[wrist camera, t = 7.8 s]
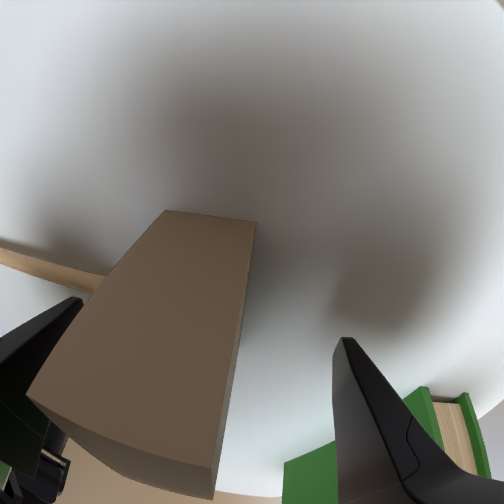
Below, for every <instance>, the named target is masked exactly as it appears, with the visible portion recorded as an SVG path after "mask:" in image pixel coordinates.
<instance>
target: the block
mask: <svg viewBox="0 0 504 504" xmlns="http://www.w3.org/2000/svg"><path fill="white" fill-rule="evenodd" d="M255 229H256V222H250V221H243V220H236V219H229V218H222V217H215V216H207V215H200V214H192V213H184V212H176V211H168V210H165V211H164V212H163V213H162V214H161V215H160V216H159V217H158V218H157V219H156V220H155V221H154V222H153V223H152V225H151V226H150V227H149V228H148V229H147V230H146V231H145V232H144V233H143V234H142V235H141V237H140V238H139V239H138V240H137V241H136V242H135V243H134V244H133V246H132V247H131V248H130V249H129V250H128V251H127V253H126V254H125V255H124V256H123V257H122V258H121V260H120V261H119V262H118V263H117V264H116V265H115V267H114V268H113V269H112V270H111V272H110V273H109V274H108V275H107V276H102V275H98V274H94V273H89V272H85V271H81V270H77V269H73V268H70V267H66V266H62V265H58V264H54V263H51V262H47V261H43V260H40V259H36V258H33V257H29V256H26V255H23V254H19V253H16V252H13V251H9V250H6V249H3V248H0V264H3V265H5V266H8V267H11V268H13V269H16V270H19V271H22V272H24V273H27V274H30V275H33V276H36V277H39V278H42V279H45V280H48V281H51V282H54V283H57V284H60V285H64V286H67V287H70V288H73V289H77V290H80V291H84V292H87V293H91V294H92V295H91V297H90V298H89V299H88V301H87V302H86V303H85V305H84V306H83V307H82V309H81V310H80V311H79V313H78V314H77V315H76V317H75V318H74V320H73V321H72V322H71V324H70V325H69V327H68V328H67V329H66V331H65V332H64V334H63V335H62V337H61V338H60V340H59V341H58V343H57V344H56V346H55V347H54V349H53V350H52V352H51V353H50V355H49V356H48V358H47V359H46V361H45V363H44V364H43V366H42V367H41V369H40V371H39V372H38V374H37V376H36V377H35V379H34V381H33V382H32V384H31V386H30V388H29V389H28V391H27V393H26V395H27V396H28V398H29V399H30V400H31V401H32V402H33V403H34V404H35V405H36V406H37V407H38V408H39V409H40V410H41V411H42V412H43V413H44V414H45V415H46V416H47V417H48V418H49V419H50V420H51V421H52V422H53V423H54V424H55V425H56V426H57V427H59V428H60V429H61V430H62V431H63V432H64V433H65V434H66V435H68V436H69V437H70V438H71V439H73V440H74V441H75V442H76V443H77V444H79V445H80V446H81V447H82V448H83V449H85V450H86V451H87V452H89V453H90V454H91V455H93V456H94V457H95V458H97V459H98V460H100V461H101V462H102V463H104V464H105V465H107V466H108V467H110V468H111V469H113V470H114V471H116V472H117V473H119V474H120V475H122V476H124V477H127V478H129V479H132V480H135V481H137V482H140V483H143V484H147V485H150V486H153V487H156V488H160V489H163V490H167V491H170V492H174V493H178V494H183V495H187V496H192V497H196V498H202V499H207V500H213V496H214V491H215V485H216V479H217V473H218V467H219V461H220V456H221V450H222V444H223V438H224V432H225V426H226V420H227V414H228V408H229V402H230V396H231V390H232V384H233V378H234V372H235V367H236V361H237V355H238V349H239V342H240V335H241V328H242V321H243V314H244V307H245V300H246V293H247V286H248V278H249V271H250V264H251V257H252V250H253V243H254V236H255Z"/></svg>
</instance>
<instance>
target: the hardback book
mask: <svg viewBox="0 0 504 504" xmlns="http://www.w3.org/2000/svg"><path fill="white" fill-rule="evenodd" d="M403 402H404V403H405V404H406V406H407V407H408V408H409V410H410V411H411V412H412V415H414V416H415V417H416V419H417V420H418V421H419V423H420V424H421V425H422V426H423V428H424V429H425V430H426V432H427V433H428V434H429V435H430V436H431V437H432V439H433V440H434V441H435V442H436V443H437V444H438V445H439V446H440V447H441V448H442V449H443V451H444V452H445V453H446V454H447V455H448V456H449V457H450V458H451V459H452V460H453V461H454V462H455V463H456V464H457V465H458V466H459V467H460V468H461V469H463V470H464V471H466V472H468V473H471V474H474V475H478V476H482V477H486V478H490V479H492V478H491V472H490V468H489V463H488V458H487V453H486V449H485V445H484V441H483V438H482V434H481V431H480V427H479V424H478V421H477V417H476V414H475V411H474V408H473V405H472V402H471V400H470V397H469V394H468V393H462V394H461V395H460V396H459V397H457V398H456V399H455V400H453V401H452V402H451V403H439V402H432V399H431V395H430V392H429V389H428V388H427V387H421V386H420V387H419V388H418V389H416V390H415V391H414V392H412V393H411V394H410V395H408V396H407V397H405V398H404V399H403ZM282 504H338V481H337V458H336V442H335V441H333V442H331V443H329V444H327V445H325V446H323V447H320V448H318V449H316V450H314V451H312V452H309V453H307V454H305V455H303V456H300V457H298V458H295V459H293V460H290V461H288V462H285V463H284V477H283V493H282Z"/></svg>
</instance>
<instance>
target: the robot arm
mask: <svg viewBox="0 0 504 504" xmlns="http://www.w3.org/2000/svg"><path fill="white" fill-rule="evenodd" d="M83 306H84V303H83V301H82V299H81V298H78V297H74V296H72V297H70V298H68V299H66V300H64V301H62V302H61V303H59V304H57V305H55V306H53V307H52V308H50V309H48V310H46V311H45V312H43V313H41V314H39V315H38V316H36V317H34V318H32V319H31V320H29V321H27V322H26V323H24V324H22V325H20V326H19V327H17V328H15V329H14V330H12V331H10V332H9V333H7V334H5V335H4V336H3V337H0V504H52V503H54V502H55V500H56V497H57V495H58V496H60V495H61V493H62V491H63V489H64V485H65V481H66V477H67V473H68V470H69V466H70V462H71V461H70V460H68V459H66V458H63V457H62V456H61V455H62V452H63V450H64V447H65V444H66V442H67V439H68V437H69V436H68V435H66V434H65V433H64V432H63V431H62V430H61V429H60V428H59V427H57V426H56V425H55V424H54V423H53V422H52V421H51V420H50V419H49V418H48V417H47V416H46V415H45V414H44V413H43V412H42V411H41V410H40V409H39V408H38V407H37V406H36V405H35V404H34V403H33V402H32V401H31V400H30V399H29V398H28V396H27V395H26V393H27V391H28V389H29V388H30V386H31V384H32V382H33V381H34V379H35V377H36V376H37V374H38V372H39V371H40V369H41V367H42V366H43V364H44V363H45V361H46V359H47V358H48V356H49V355H50V353H51V352H52V350H53V349H54V347H55V346H56V344H57V343H58V341H59V340H60V338H61V337H62V335H63V334H64V332H65V331H66V329H67V328H68V327H69V325H70V324H71V322H72V321H73V320H74V318H75V317H76V315H77V314H78V313H79V311H80V310H81V309H82V307H83ZM332 405H333V416H334V428H335V442H336V458H337V481H338V504H504V482H503V481H498V480H494V479H490V478H486V477H482V476H478V475H474V474H471V473H468V472H466V471H464V470H463V469H461V468H460V467H459V466H458V465H457V464H456V463H455V462H454V461H453V460H452V459H451V458H450V457H449V456H448V455H447V454H446V453H445V452H444V451H443V449H442V448H441V447H440V446H439V445H438V444H437V443H436V442H435V441H434V440H433V439H432V437H431V436H430V435H429V434H428V433H427V432H426V430H425V429H424V428H423V426H422V425H421V424H420V423H419V421H418V420H417V419H416V417H415V416H414V415H412V412H411V411H410V410H409V408H408V407H407V406H406V404H405V403H404V402H403V400H402V399H401V398H400V396H399V395H398V394H397V393H396V391H395V390H394V389H393V387H392V386H391V385H390V383H389V382H388V381H387V380H386V378H385V377H384V376H383V374H382V373H381V372H380V371H379V369H378V368H377V367H376V365H375V364H374V363H373V362H372V360H371V359H370V358H369V357H368V355H367V354H366V353H365V352H364V350H363V349H362V348H361V347H360V345H359V344H358V343H357V342H356V340H355V339H354V338H352V337H341V338H340V340H339V342H338V344H337V346H336V349H335V351H334V353H333V360H332ZM42 449H43V450H44V451H46V452H47V453H49V454H50V455H52V456H54V457H55V458H57V459H59V460H60V463H58V462H56V461H55V460H53V459H52V458H50V457H48V456H46V455H45V454H44V453H42V452H41V450H42Z"/></svg>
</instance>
